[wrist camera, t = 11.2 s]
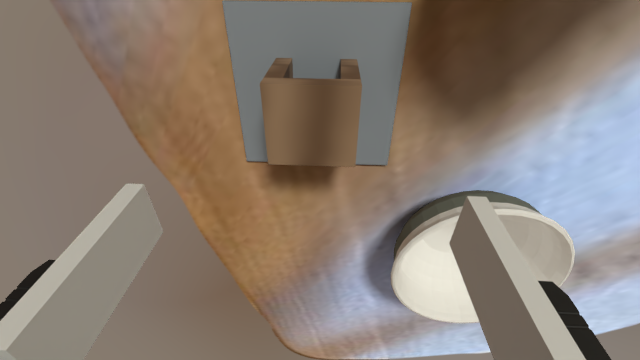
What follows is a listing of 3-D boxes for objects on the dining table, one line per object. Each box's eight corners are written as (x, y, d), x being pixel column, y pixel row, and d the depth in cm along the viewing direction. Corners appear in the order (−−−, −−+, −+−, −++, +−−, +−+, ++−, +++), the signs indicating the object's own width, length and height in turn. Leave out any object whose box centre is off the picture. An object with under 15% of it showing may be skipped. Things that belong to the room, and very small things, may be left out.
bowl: (405, 282, 48) (417, 335, 41) (361, 194, 38) (366, 244, 32) (540, 250, 42) (578, 305, 36) (526, 139, 33) (574, 184, 26)
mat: (223, 0, 27) (222, 1, 26) (411, 2, 26) (411, 2, 26) (247, 159, 36) (246, 161, 36) (386, 163, 35) (387, 165, 35)
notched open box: (281, 126, 33) (268, 164, 27) (276, 57, 29) (259, 83, 23) (352, 128, 33) (355, 167, 27) (356, 59, 29) (362, 85, 23)
